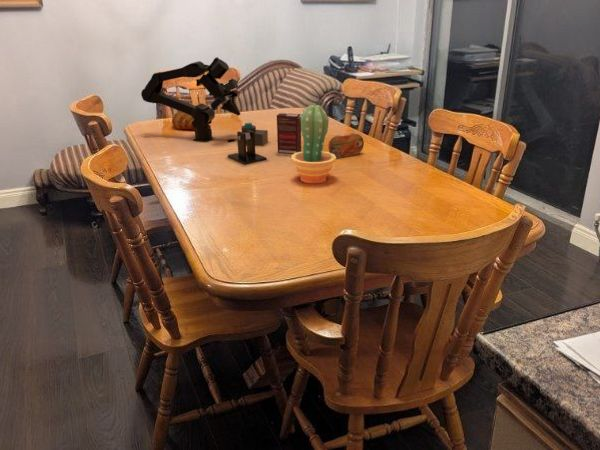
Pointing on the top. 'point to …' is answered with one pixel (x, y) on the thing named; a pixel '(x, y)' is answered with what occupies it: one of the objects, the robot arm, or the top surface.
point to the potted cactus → (313, 146)
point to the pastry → (182, 121)
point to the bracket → (249, 155)
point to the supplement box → (288, 133)
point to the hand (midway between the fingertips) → (239, 114)
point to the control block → (257, 135)
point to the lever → (237, 139)
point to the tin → (346, 145)
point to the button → (248, 125)
